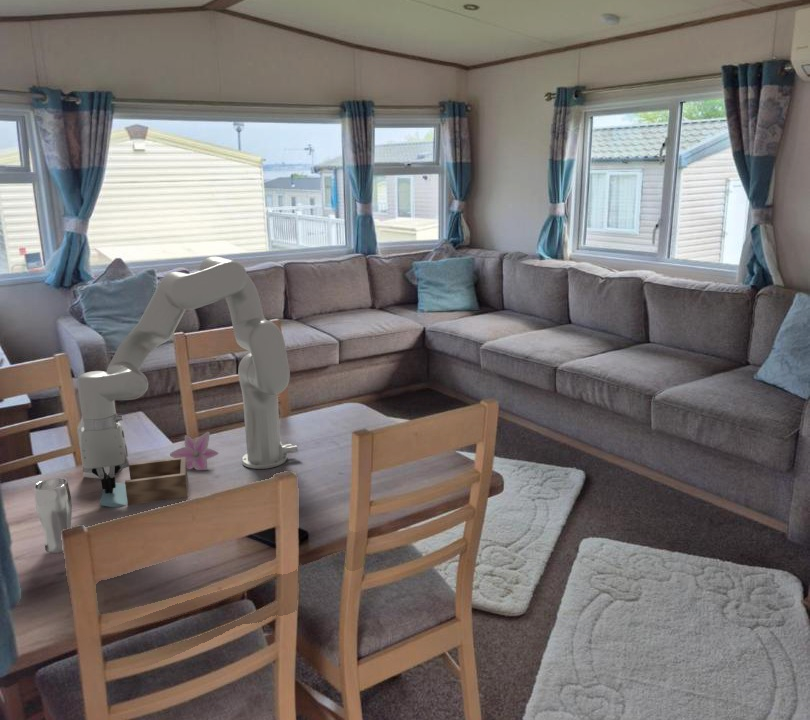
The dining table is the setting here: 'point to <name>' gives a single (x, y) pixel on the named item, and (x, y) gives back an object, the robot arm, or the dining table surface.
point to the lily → (195, 452)
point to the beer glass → (53, 510)
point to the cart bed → (157, 481)
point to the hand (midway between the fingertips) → (109, 490)
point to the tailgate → (115, 496)
